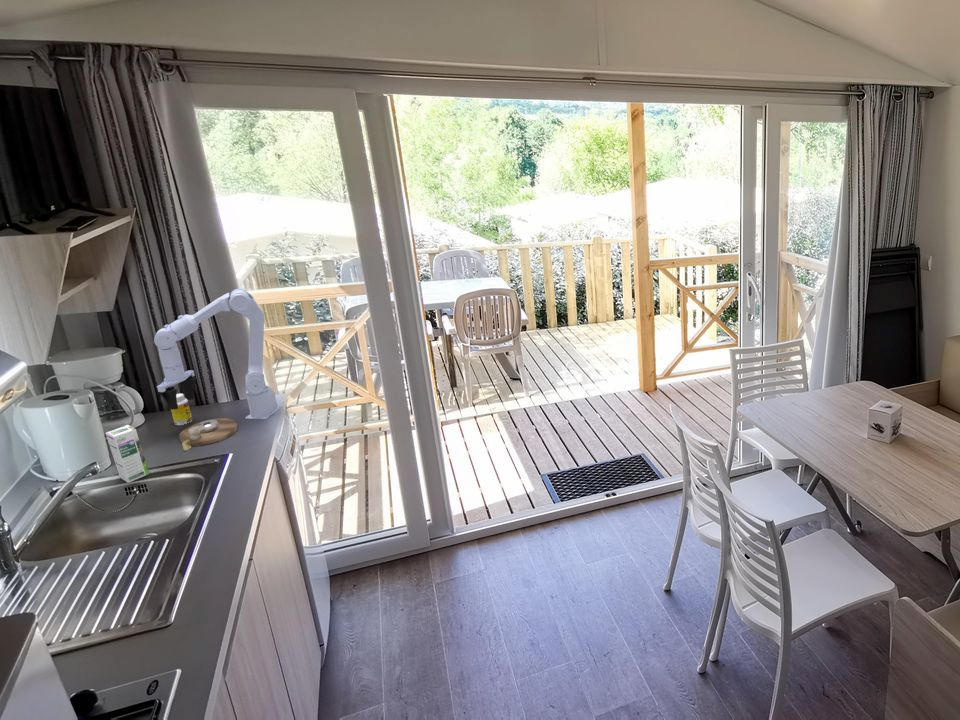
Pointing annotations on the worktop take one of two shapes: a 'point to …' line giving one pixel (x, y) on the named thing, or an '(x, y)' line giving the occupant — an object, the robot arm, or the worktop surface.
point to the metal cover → (208, 426)
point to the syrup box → (127, 453)
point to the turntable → (198, 439)
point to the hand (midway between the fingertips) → (182, 404)
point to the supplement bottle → (181, 411)
